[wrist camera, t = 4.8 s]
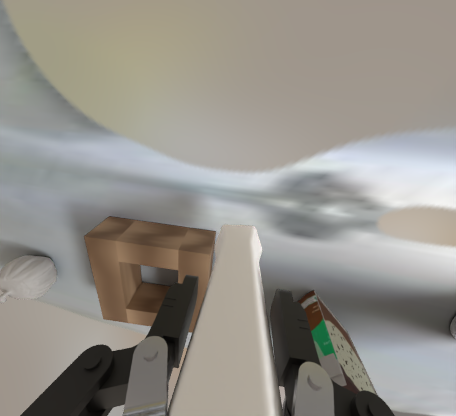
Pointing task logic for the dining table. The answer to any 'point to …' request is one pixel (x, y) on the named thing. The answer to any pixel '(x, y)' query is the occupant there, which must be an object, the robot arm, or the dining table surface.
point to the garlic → (27, 277)
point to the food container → (335, 346)
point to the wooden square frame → (149, 256)
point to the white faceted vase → (230, 338)
